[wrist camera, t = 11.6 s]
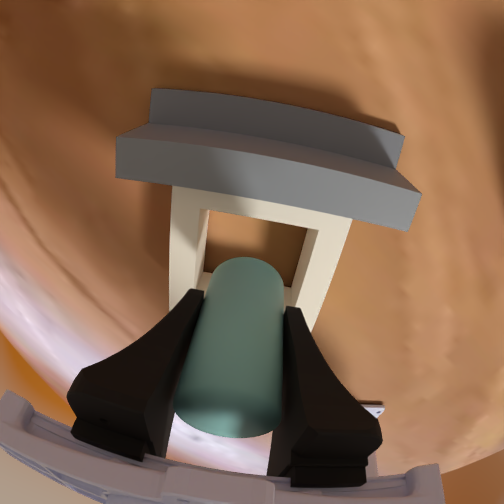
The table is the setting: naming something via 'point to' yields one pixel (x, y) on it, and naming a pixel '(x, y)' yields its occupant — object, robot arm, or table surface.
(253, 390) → the dowel
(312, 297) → the block
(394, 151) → the wall
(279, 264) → the table surface
